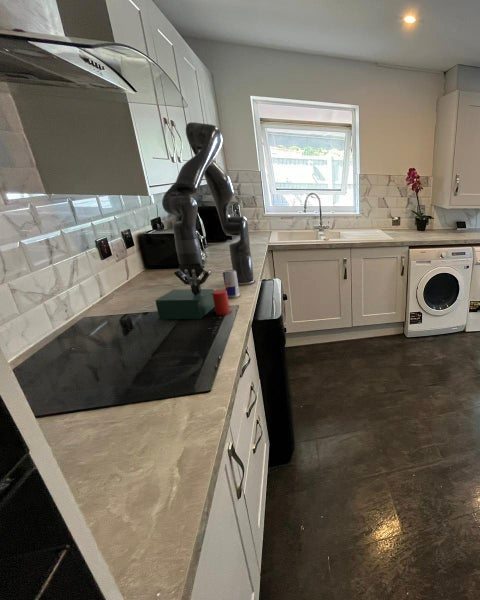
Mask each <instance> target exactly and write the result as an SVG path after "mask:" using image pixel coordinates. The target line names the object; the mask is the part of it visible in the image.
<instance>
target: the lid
mask: <svg viewBox="0 0 480 600" xmlns="http://www.w3.org/2000/svg"><path fill="white" fill-rule="evenodd" d="M213 291H215V288H201V293H200V294H199V295H194V293H192V290H191V288H190V289H189V288H183V289H171V290H170V291H169V292H167V293H166V294H164V295H162V296H160V297H158V298H157V299H155V300H154V301H155V303H156V302H200V301H201V300H203V299H204V298H205V297H207V296H208V295H209V294H211V293H212V292H213Z"/></svg>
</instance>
